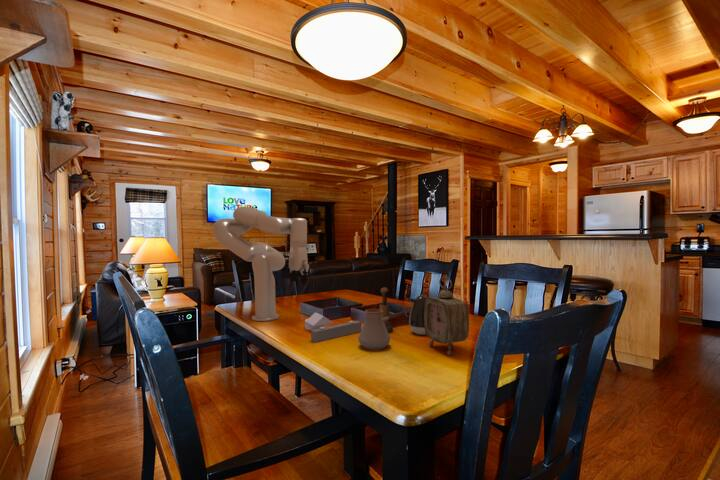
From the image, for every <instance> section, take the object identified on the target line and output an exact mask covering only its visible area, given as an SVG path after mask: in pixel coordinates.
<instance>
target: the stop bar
mask: <svg viewBox="0 0 720 480" xmlns="http://www.w3.org/2000/svg"><path fill="white" fill-rule="evenodd" d="M361 330H362V321H361V320H360V321H359V320H349V321H348V322H344V323H339V324H334V325H329V326H326V327H320V328H319V329H314V330H310V341H311V342H313V343H314V344H315V343H316V344H317V343H320V342H324V341H328V340H332V339H337V338H340V337H341V338H342V337H344V336H345V337H346V336H348V335H353V334H357V333H360V332H361Z"/></svg>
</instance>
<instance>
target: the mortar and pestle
mask: <svg viewBox="0 0 720 480" xmlns="http://www.w3.org/2000/svg"><path fill="white" fill-rule="evenodd" d="M380 293H381V295H382V298H381V302H382V303H380V304H379V309H381V310H383V312H382V314H381V317H382V318H385V317H389V316H390V303H387V302H388V298H387V295H388V293H389V289H388V288H387V287H385V286H384V287H382V288H380ZM383 322H384V324H385V327H386V329H387V331H388V334H390V333H393V332H394V326H393V324H392V323H391V322H390V319H387V320H384V321H383Z"/></svg>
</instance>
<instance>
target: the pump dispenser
mask: <svg viewBox="0 0 720 480" xmlns="http://www.w3.org/2000/svg"><path fill="white" fill-rule="evenodd" d="M426 298H428V297H427V296H425V295H423V294H421V295H418V296H416V298H412V297H410V298H409V301H410V302H412V306H411V308H410V311H409V312H410V313H409V316H408V319H409V320H408V324H409V326H410V329H411V331H412V332H413V333H414V334H416V335H420V336H425V335H426V333H425V327H424V303H425V299H426ZM426 336H427V335H426Z"/></svg>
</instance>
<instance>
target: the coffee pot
mask: <svg viewBox="0 0 720 480" xmlns="http://www.w3.org/2000/svg"><path fill="white" fill-rule="evenodd" d="M364 312H365V313H366V316H365V317H366V318H365V319H364V322H363V325H362V326H361V332H359V334H358V338H357V339H358V340H357V341H358V343H359V344H360V345H361V346H362V348H364V349H366V350H369V351H378V350H383V349H385V348H386V346H387V345H388V344H390V342H391V336H390V333H388V331H387V329H386V327H385V324H384V322H383V321H384V320H387V319H389V320H390V319H394V318H399V317H401V316H403V315H405V316H406V317H407V318H409V316H408V315H407V313H409V314H410V312H411V311H408V310H404V311H403V310H402V311H400V312H396V313H393V314H391V315H389V317H385V318H382V317H381V314H382V312H383V310H381V309H380V308H368V309H365V310H364Z"/></svg>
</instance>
